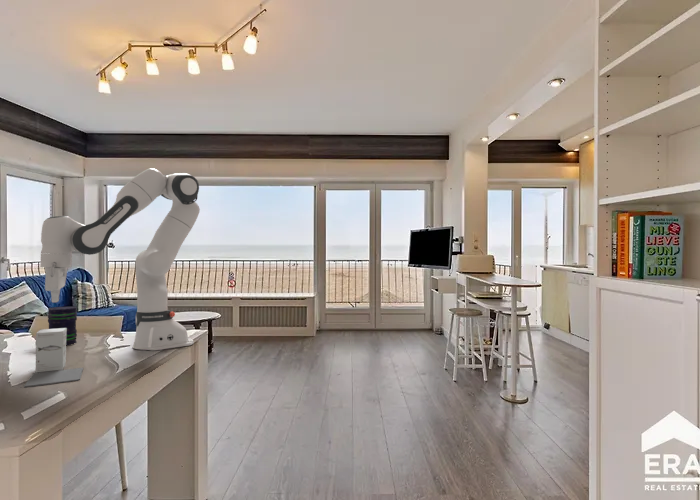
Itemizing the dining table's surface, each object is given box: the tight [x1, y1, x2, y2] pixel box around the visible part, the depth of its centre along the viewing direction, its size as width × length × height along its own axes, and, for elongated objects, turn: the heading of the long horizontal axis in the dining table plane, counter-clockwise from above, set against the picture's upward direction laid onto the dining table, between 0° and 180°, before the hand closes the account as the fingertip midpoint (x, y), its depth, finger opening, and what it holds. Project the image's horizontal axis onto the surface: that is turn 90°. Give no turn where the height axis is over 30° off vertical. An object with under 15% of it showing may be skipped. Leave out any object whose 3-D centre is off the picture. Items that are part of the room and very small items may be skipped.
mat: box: [23, 367, 84, 388], centre depth 124 cm, size 13×14×1 cm
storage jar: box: [47, 305, 78, 346], centre depth 169 cm, size 10×10×15 cm
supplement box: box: [34, 328, 67, 373], centre depth 133 cm, size 7×7×13 cm
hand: (55, 302), depth 143 cm, fingers closed
